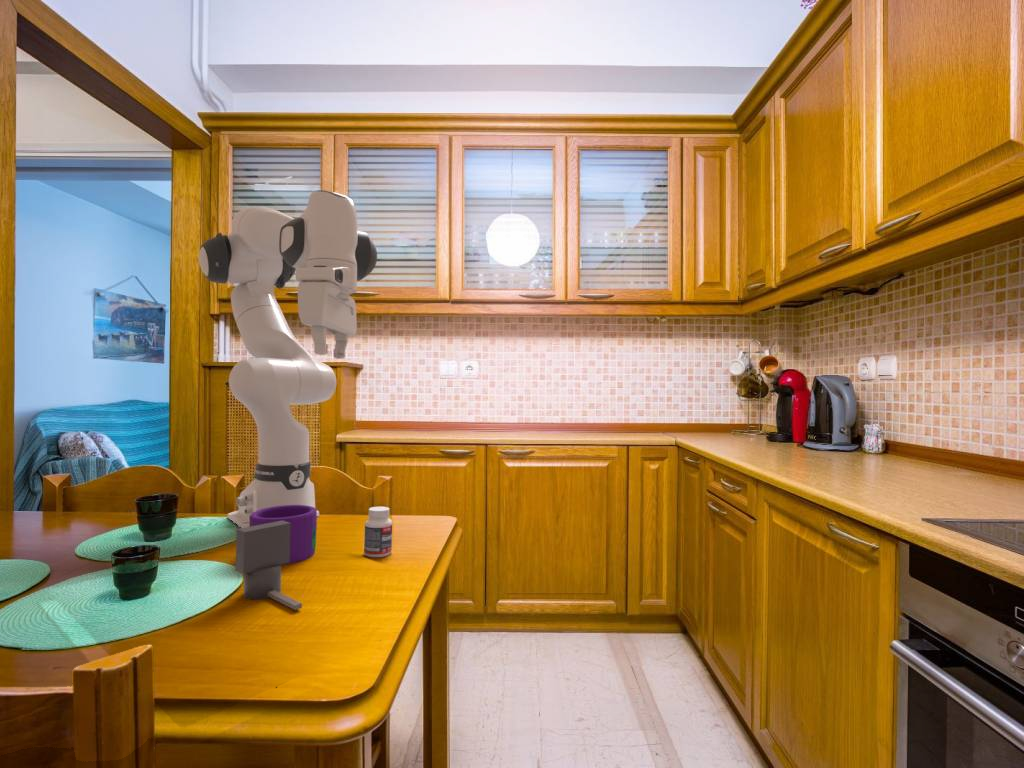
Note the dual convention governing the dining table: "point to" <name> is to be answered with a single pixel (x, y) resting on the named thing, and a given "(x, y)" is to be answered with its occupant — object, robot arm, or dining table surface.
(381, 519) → the pill bottle
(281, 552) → the grey block with rod
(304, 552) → the mug
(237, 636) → the dining table surface
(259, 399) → the robot arm
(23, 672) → the dining table surface
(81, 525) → the dining table surface
